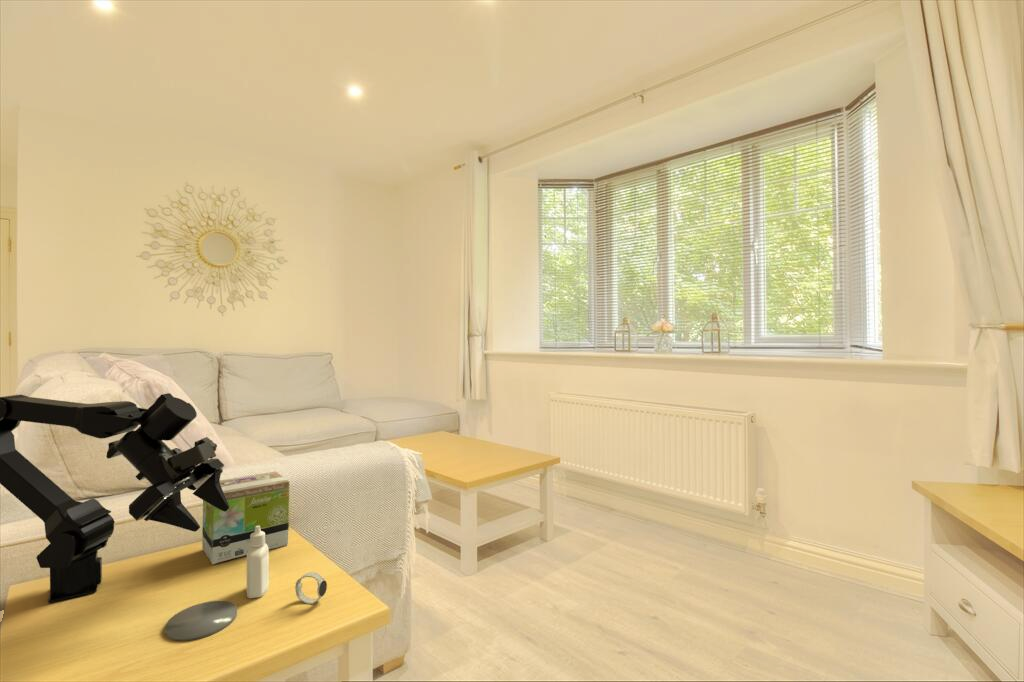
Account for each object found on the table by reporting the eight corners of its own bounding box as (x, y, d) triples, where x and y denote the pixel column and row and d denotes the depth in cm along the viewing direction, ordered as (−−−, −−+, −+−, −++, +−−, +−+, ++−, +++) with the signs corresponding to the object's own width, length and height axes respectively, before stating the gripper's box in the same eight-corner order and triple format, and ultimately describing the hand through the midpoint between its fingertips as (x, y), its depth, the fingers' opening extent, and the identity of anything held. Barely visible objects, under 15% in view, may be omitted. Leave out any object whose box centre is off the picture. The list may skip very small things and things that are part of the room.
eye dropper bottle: (278, 584, 92) (278, 521, 92) (256, 601, 87) (256, 533, 86) (258, 581, 93) (258, 519, 93) (235, 597, 88) (235, 531, 87)
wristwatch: (319, 607, 85) (319, 579, 85) (292, 604, 86) (292, 576, 86) (328, 598, 88) (328, 571, 88) (302, 595, 88) (302, 568, 88)
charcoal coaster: (165, 649, 73) (165, 645, 73) (164, 616, 82) (164, 613, 82) (241, 625, 79) (241, 622, 79) (233, 597, 87) (232, 594, 87)
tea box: (212, 567, 99) (211, 494, 98) (201, 549, 106) (201, 482, 106) (290, 545, 109) (290, 479, 108) (275, 531, 116) (275, 469, 116)
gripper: (147, 439, 79) (215, 507, 80) (214, 417, 98) (269, 473, 99) (97, 486, 79) (166, 554, 80) (174, 455, 98) (229, 511, 99)
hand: (213, 519), depth 89 cm, fingers open, 9 cm apart
